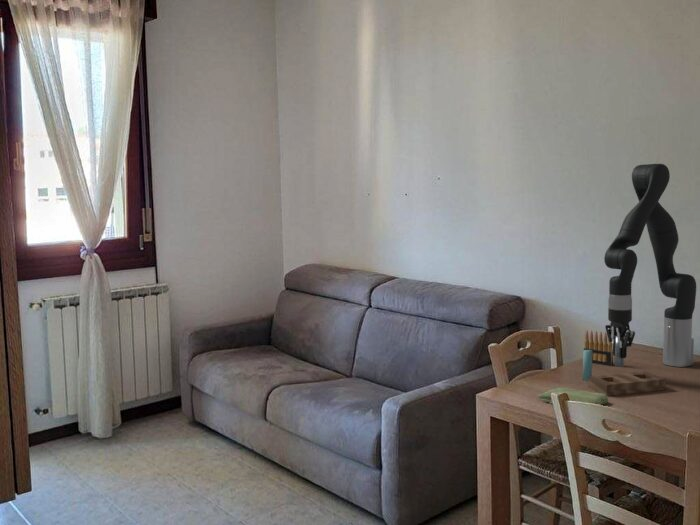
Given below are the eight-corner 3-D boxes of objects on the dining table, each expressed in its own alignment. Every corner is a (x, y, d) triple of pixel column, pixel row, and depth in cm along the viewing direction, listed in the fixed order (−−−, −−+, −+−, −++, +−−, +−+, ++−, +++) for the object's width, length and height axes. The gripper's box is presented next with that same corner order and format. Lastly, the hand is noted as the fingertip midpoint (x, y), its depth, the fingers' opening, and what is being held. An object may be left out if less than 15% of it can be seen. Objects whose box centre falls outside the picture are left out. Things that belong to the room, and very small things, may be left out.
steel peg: (620, 364, 249) (620, 335, 248) (626, 366, 246) (626, 337, 245) (612, 364, 248) (613, 336, 247) (618, 367, 246) (618, 338, 244)
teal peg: (588, 378, 247) (589, 349, 245) (593, 380, 244) (594, 351, 243) (580, 378, 246) (581, 350, 245) (585, 381, 243) (586, 352, 242)
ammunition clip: (613, 365, 263) (613, 332, 262) (611, 366, 262) (611, 333, 261) (584, 360, 270) (585, 329, 269) (582, 361, 269) (583, 330, 268)
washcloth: (556, 393, 232) (556, 383, 232) (610, 404, 220) (610, 393, 219) (536, 402, 223) (536, 392, 222) (590, 414, 210) (590, 403, 210)
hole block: (645, 381, 241) (645, 371, 241) (665, 389, 232) (665, 379, 231) (588, 387, 236) (588, 376, 236) (606, 395, 226) (606, 385, 226)
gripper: (643, 309, 239) (642, 360, 241) (617, 302, 253) (616, 351, 255) (623, 311, 237) (622, 362, 239) (598, 304, 251) (597, 353, 253)
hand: (619, 356), depth 247 cm, fingers closed on steel peg, 3 cm apart
